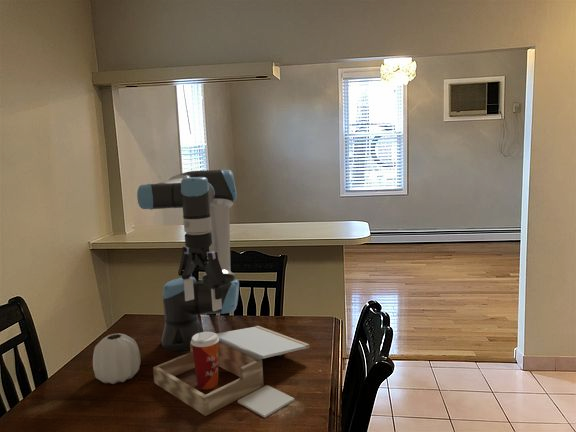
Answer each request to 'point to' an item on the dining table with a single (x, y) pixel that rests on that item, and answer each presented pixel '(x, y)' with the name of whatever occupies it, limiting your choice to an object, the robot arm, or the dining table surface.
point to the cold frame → (220, 397)
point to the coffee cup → (206, 359)
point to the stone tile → (266, 401)
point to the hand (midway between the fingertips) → (203, 304)
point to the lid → (260, 342)
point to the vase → (116, 358)
